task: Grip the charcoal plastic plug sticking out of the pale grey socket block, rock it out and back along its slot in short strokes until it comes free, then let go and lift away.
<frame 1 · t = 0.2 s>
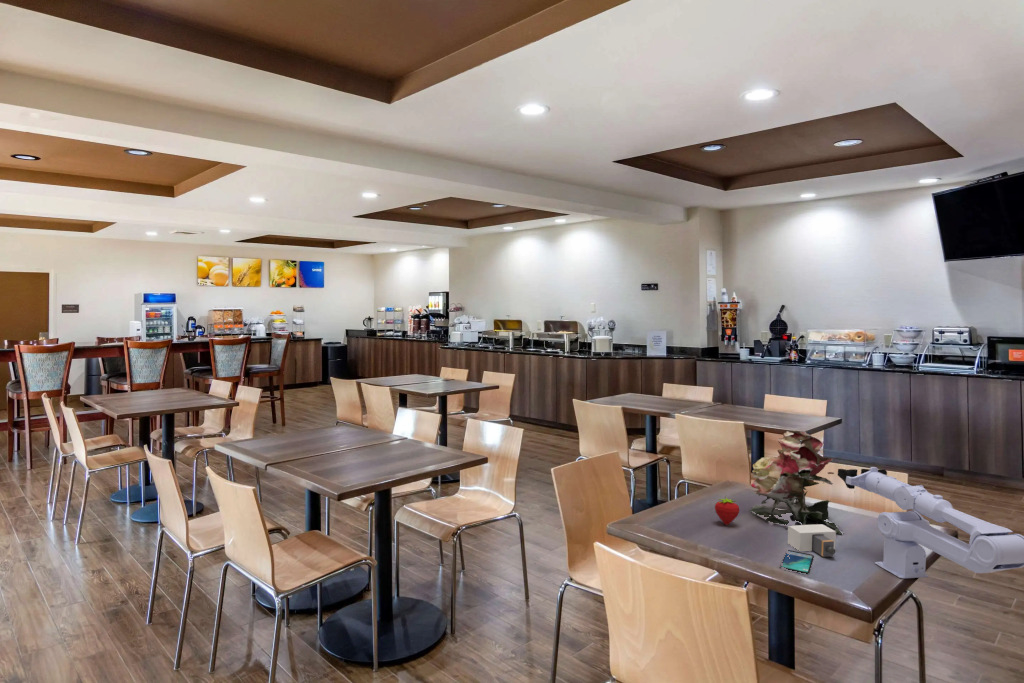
hand: (850, 472, 180), 21 cm above the table, tool horizontal, fingers open, 7 cm apart
strawberry: (726, 525, 195), on the table
smartphone: (797, 564, 167), on the table
plug: (822, 545, 172), point 3 cm above the table, slide at 0.0 cm
socket block: (811, 547, 177), on the table
rose bouquet: (791, 519, 201), on the table
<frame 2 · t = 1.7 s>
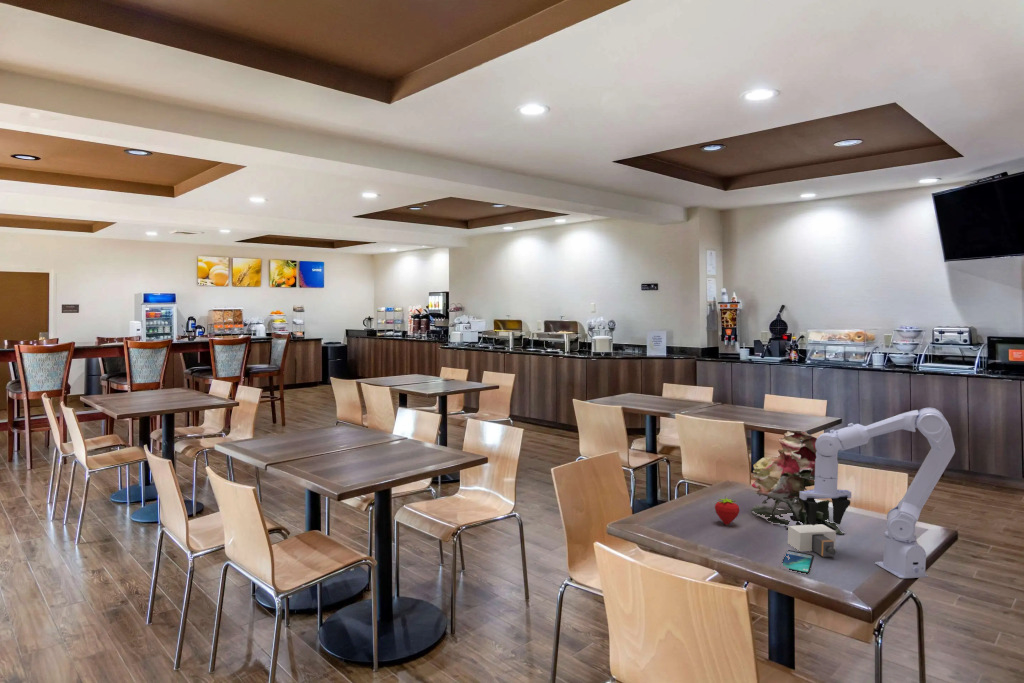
hand: (824, 523, 171), 9 cm above the table, tool pointing down, fingers open, 7 cm apart
nothing on the table moved.
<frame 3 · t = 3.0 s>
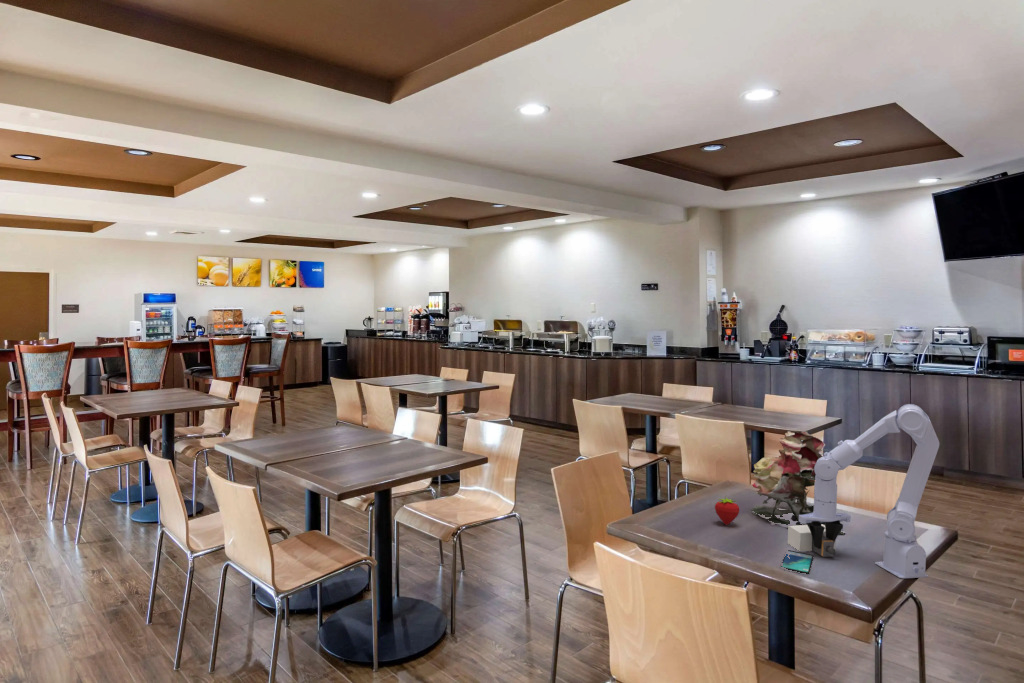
hand: (823, 547, 172), 2 cm above the table, tool pointing down, fingers closed on plug, 3 cm apart
plug: (822, 545, 172), point 3 cm above the table, slide at 0.0 cm, touching gripper
everything else where it was.
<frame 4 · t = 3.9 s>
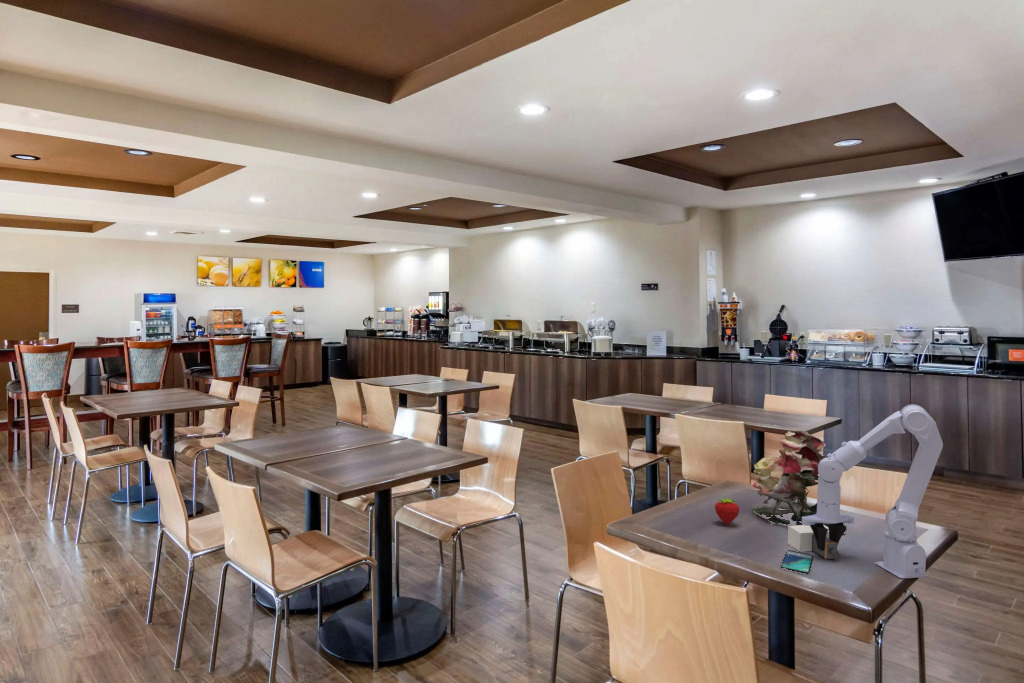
hand: (826, 549, 170), 2 cm above the table, tool pointing down, fingers closed on plug, 3 cm apart
plug: (825, 547, 171), point 3 cm above the table, slide at 1.4 cm, touching gripper
everything else where it was.
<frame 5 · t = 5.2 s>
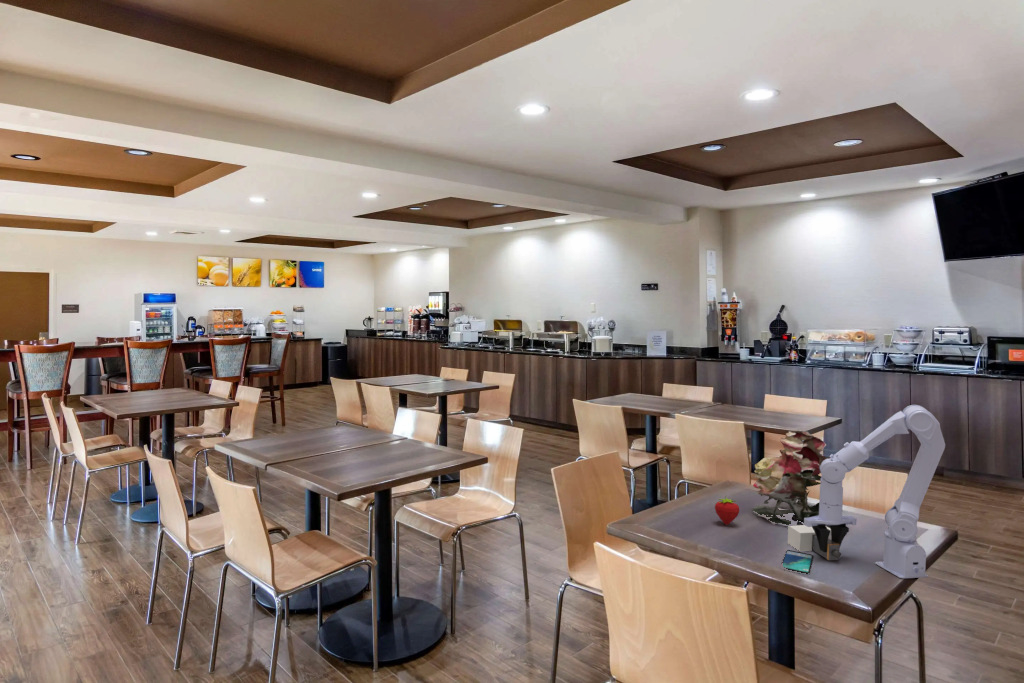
hand: (829, 550, 169), 2 cm above the table, tool pointing down, fingers closed on plug, 3 cm apart
plug: (828, 548, 170), point 3 cm above the table, slide at 2.4 cm, touching gripper
everything else where it was.
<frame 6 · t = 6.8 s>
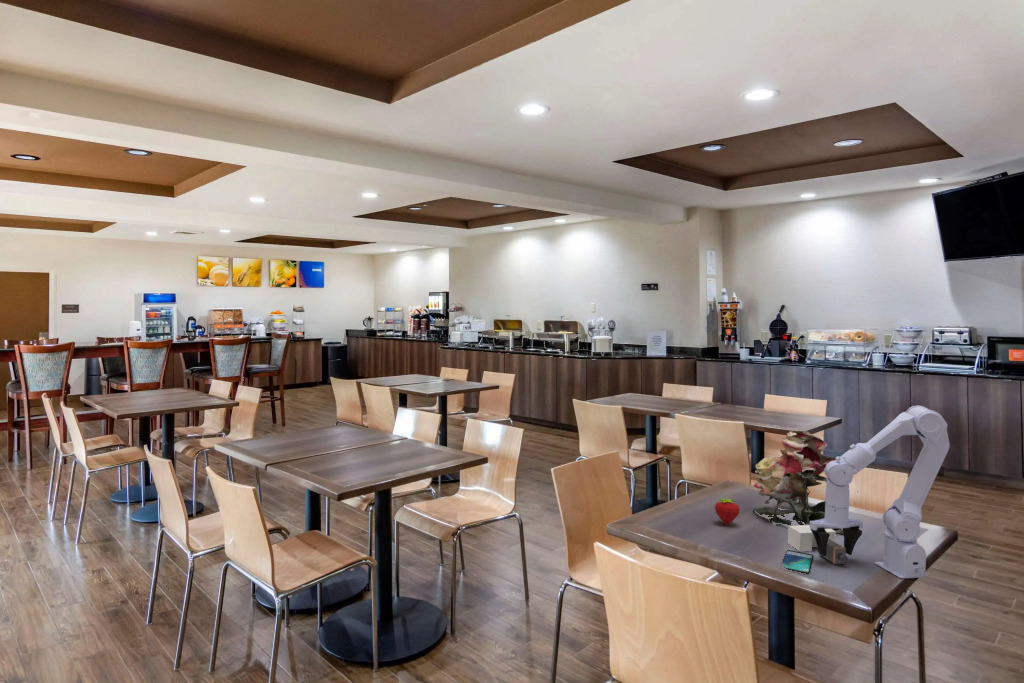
hand: (835, 554, 167), 2 cm above the table, tool pointing down, fingers open, 7 cm apart
plug: (833, 552, 167), point 3 cm above the table, slide at 5.0 cm
everything else where it was.
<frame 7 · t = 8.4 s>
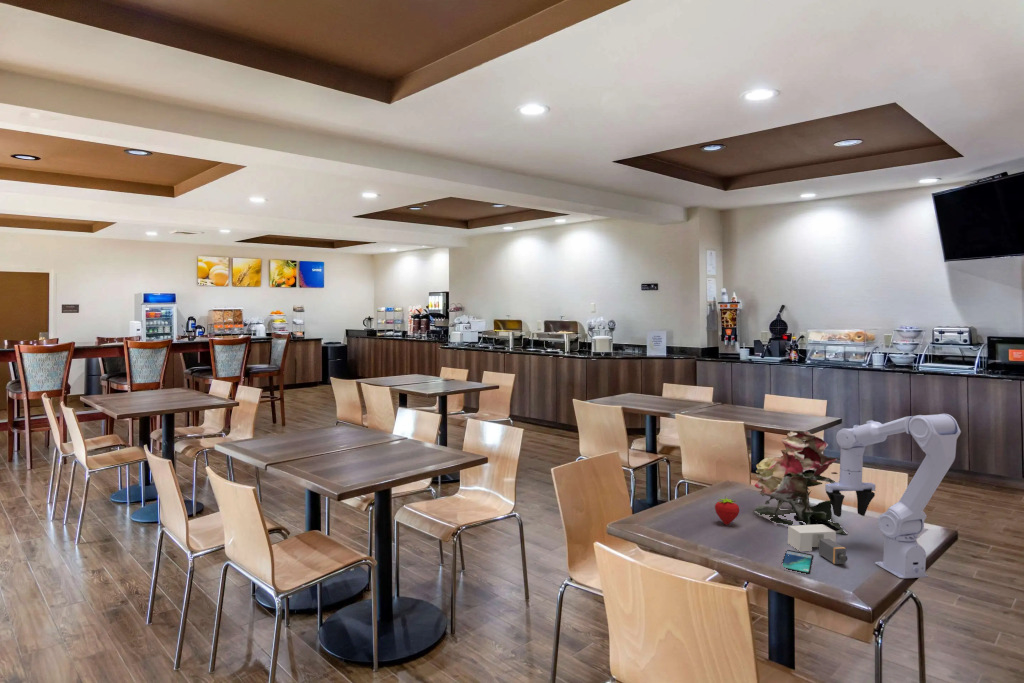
hand: (849, 515, 177), 9 cm above the table, tool pointing down, fingers open, 7 cm apart
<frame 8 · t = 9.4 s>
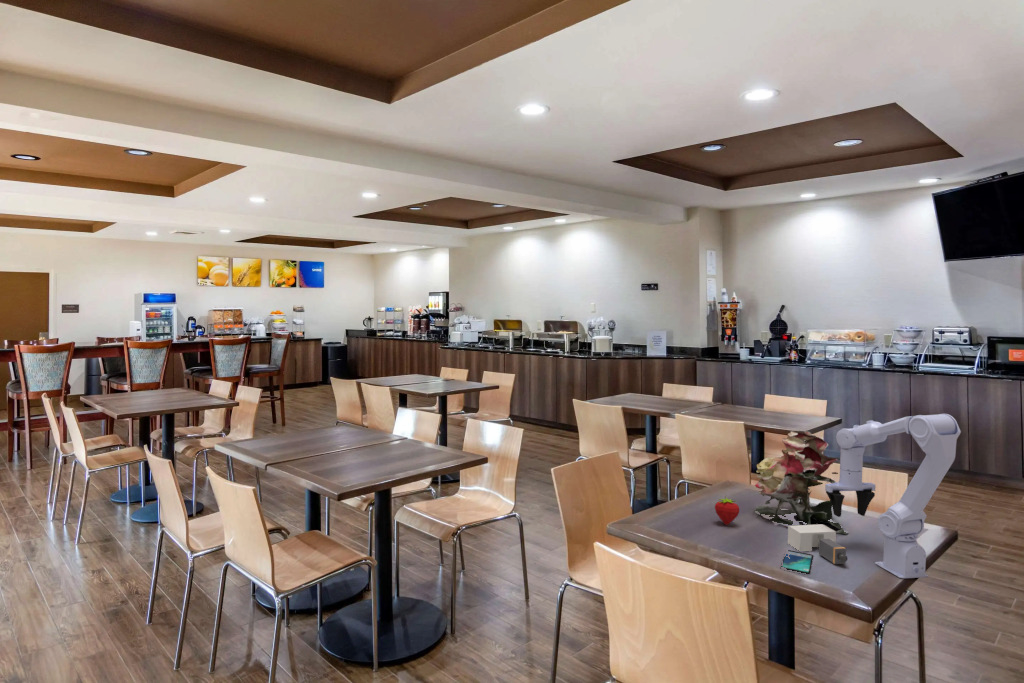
hand: (849, 515, 177), 9 cm above the table, tool pointing down, fingers open, 7 cm apart
at the end: plug slide at 5.0 cm; the gripper is holding nothing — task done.
